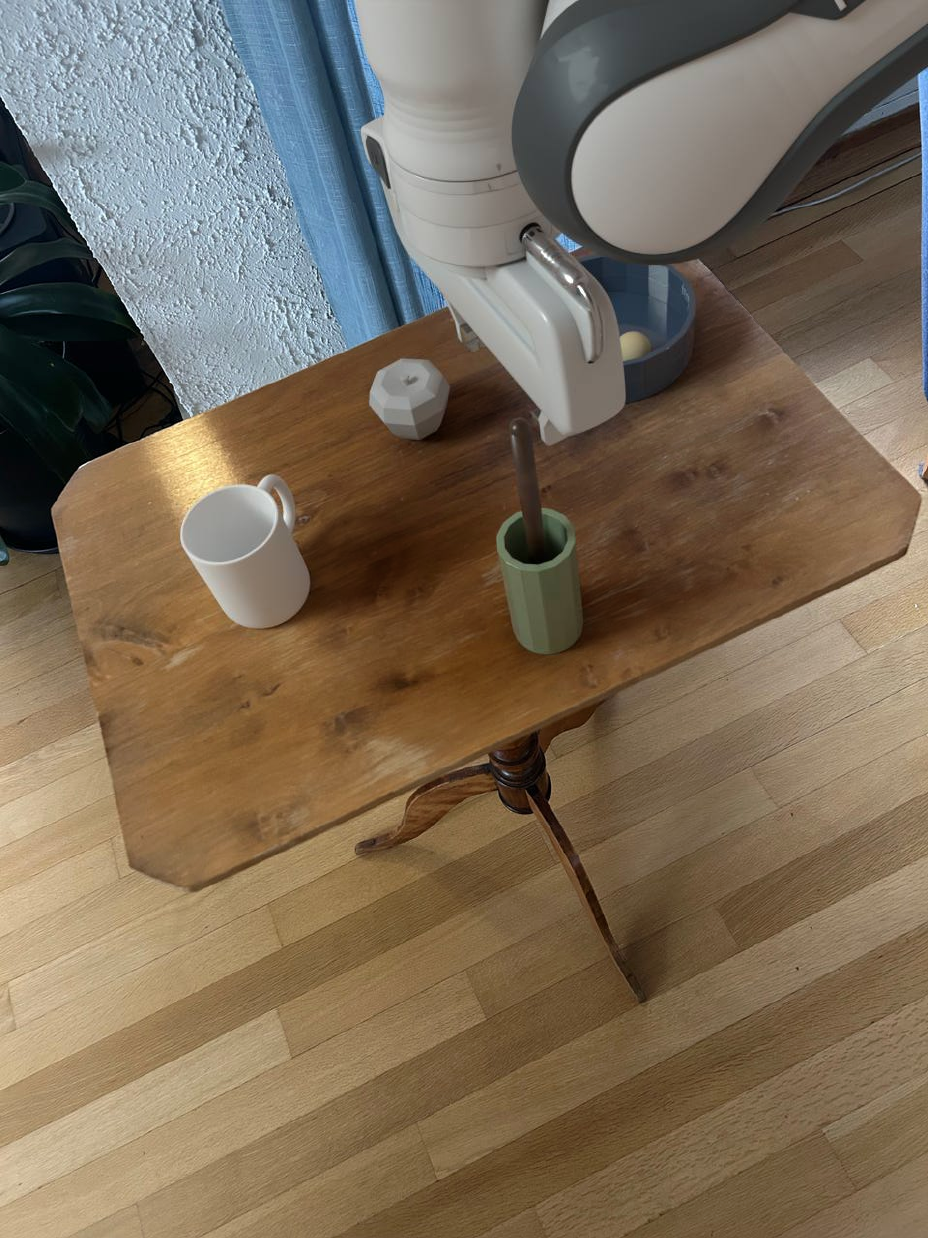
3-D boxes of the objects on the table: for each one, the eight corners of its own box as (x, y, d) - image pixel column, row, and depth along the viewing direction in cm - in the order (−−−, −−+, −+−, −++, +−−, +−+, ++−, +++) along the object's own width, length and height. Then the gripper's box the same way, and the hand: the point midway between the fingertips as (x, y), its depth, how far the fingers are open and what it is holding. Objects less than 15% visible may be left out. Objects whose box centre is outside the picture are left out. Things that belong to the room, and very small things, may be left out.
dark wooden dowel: (555, 608, 83) (529, 406, 63) (564, 620, 82) (540, 419, 62) (530, 621, 83) (496, 422, 63) (539, 633, 82) (507, 436, 62)
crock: (559, 584, 85) (549, 495, 75) (596, 634, 82) (590, 547, 72) (500, 616, 84) (482, 529, 74) (536, 667, 81) (521, 584, 71)
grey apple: (462, 446, 95) (452, 396, 90) (383, 464, 95) (367, 415, 90) (450, 388, 100) (439, 338, 94) (374, 406, 100) (359, 356, 94)
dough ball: (638, 346, 98) (637, 318, 95) (658, 367, 96) (659, 338, 93) (606, 362, 97) (605, 333, 94) (627, 383, 96) (626, 355, 93)
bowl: (634, 271, 105) (634, 230, 101) (726, 357, 96) (730, 317, 92) (501, 336, 103) (495, 297, 98) (584, 430, 94) (581, 392, 90)
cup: (207, 620, 88) (161, 552, 80) (265, 517, 94) (229, 444, 86) (288, 641, 86) (250, 573, 77) (343, 533, 91) (313, 460, 83)
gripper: (659, 263, 44) (654, 471, 55) (448, 72, 54) (480, 278, 66) (535, 323, 43) (556, 522, 54) (345, 116, 54) (396, 318, 65)
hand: (513, 386), depth 60 cm, fingers open, 8 cm apart
